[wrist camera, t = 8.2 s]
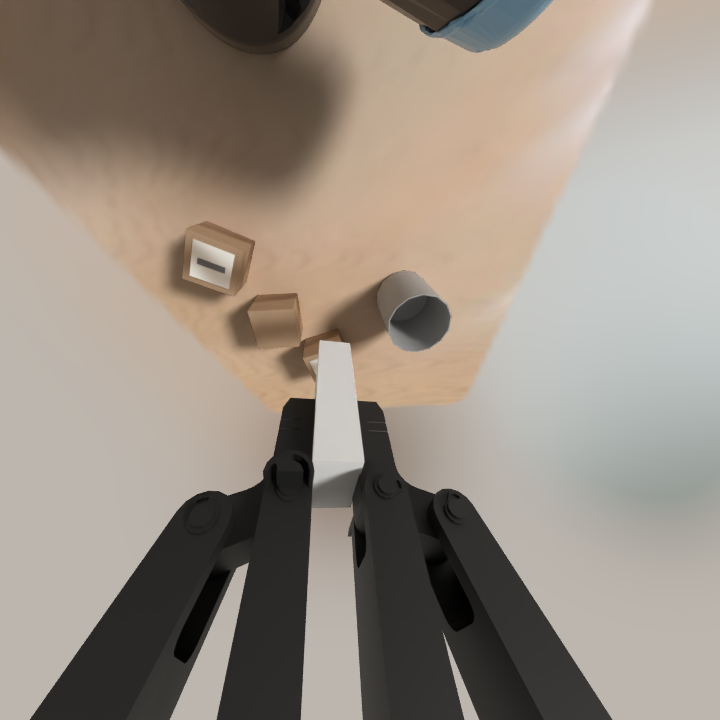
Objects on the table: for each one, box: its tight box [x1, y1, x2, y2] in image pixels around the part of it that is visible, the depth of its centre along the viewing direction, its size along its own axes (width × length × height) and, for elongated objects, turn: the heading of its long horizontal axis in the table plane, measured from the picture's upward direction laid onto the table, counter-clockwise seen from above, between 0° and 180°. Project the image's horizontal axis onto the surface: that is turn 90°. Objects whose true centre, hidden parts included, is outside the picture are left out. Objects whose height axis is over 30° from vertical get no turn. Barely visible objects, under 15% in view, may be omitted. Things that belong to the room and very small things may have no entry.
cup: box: [377, 270, 452, 352], centre depth 37 cm, size 8×8×10 cm
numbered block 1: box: [182, 221, 255, 297], centre depth 33 cm, size 6×6×6 cm
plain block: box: [248, 293, 303, 349], centre depth 39 cm, size 6×6×6 cm
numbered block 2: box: [303, 329, 344, 383], centre depth 43 cm, size 6×6×6 cm
